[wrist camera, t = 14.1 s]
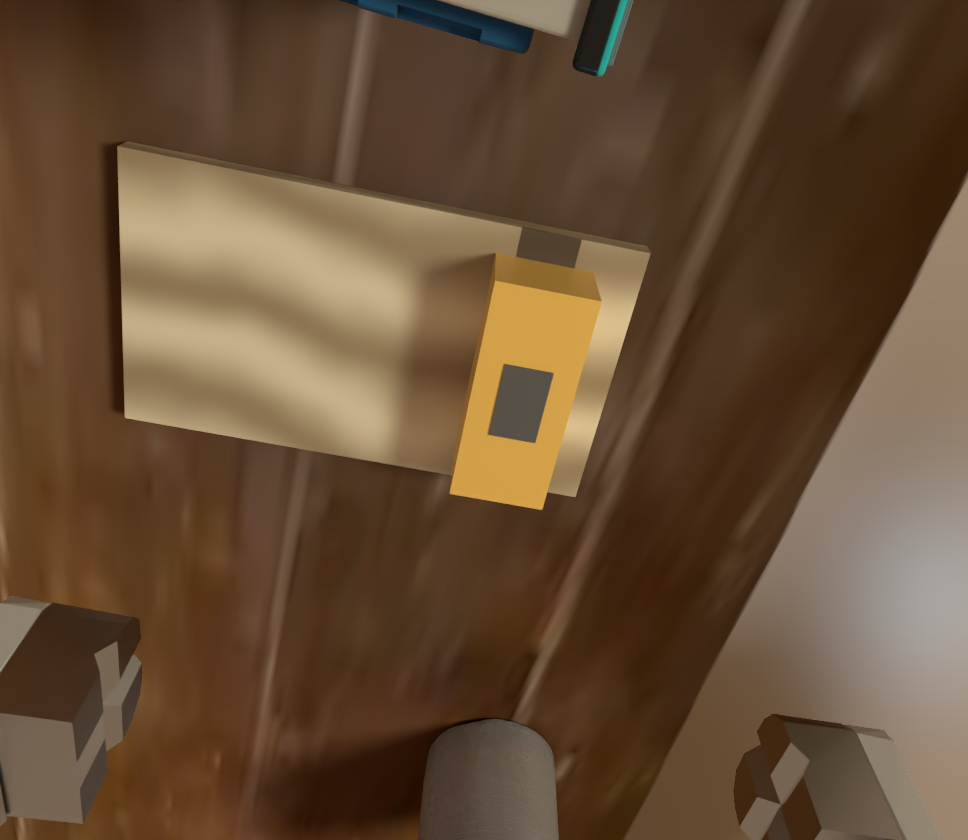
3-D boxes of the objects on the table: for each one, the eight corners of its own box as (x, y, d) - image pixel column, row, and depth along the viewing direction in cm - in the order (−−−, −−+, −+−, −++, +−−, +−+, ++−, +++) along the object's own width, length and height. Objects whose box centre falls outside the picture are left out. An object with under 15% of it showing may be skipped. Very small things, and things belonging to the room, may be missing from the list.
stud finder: (495, 252, 40) (495, 281, 37) (593, 272, 41) (601, 302, 37) (453, 453, 46) (449, 494, 42) (539, 468, 46) (542, 510, 43)
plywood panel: (127, 141, 39) (117, 146, 38) (646, 246, 41) (650, 253, 40) (133, 407, 46) (124, 418, 45) (573, 485, 48) (575, 496, 47)
